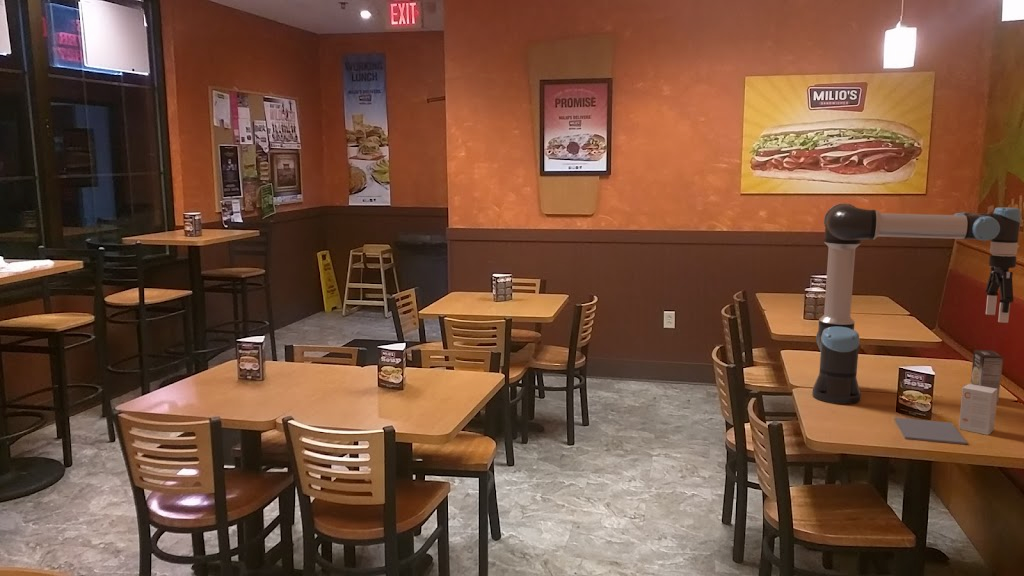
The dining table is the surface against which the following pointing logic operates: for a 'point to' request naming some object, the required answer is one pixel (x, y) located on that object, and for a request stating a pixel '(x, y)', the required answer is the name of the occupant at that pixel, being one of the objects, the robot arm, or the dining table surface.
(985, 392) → the small box
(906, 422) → the slate mat
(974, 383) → the coffee box
